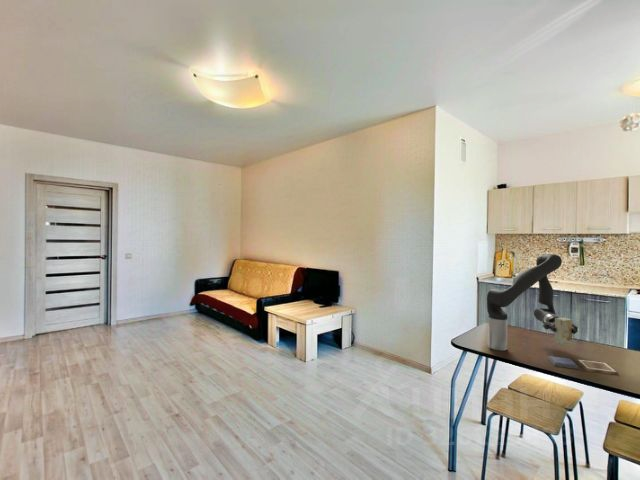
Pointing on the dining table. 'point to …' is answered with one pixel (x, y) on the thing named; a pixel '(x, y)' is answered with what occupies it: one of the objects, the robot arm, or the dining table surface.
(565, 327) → the skincare box
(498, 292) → the robot arm
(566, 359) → the ink pad
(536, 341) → the dining table surface
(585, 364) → the marked board
